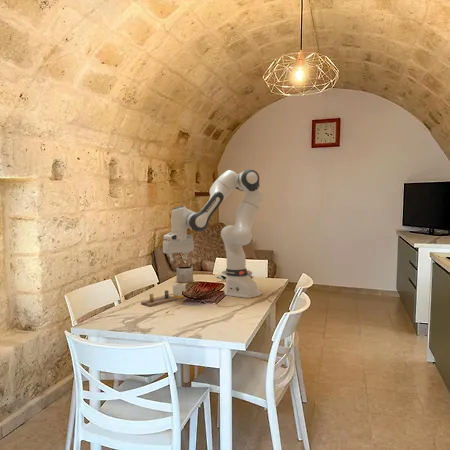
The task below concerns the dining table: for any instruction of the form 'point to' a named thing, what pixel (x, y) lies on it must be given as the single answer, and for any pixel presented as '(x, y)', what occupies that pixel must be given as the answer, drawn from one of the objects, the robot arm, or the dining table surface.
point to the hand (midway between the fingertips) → (178, 260)
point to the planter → (184, 274)
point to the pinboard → (158, 300)
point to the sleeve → (178, 290)
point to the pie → (226, 275)
